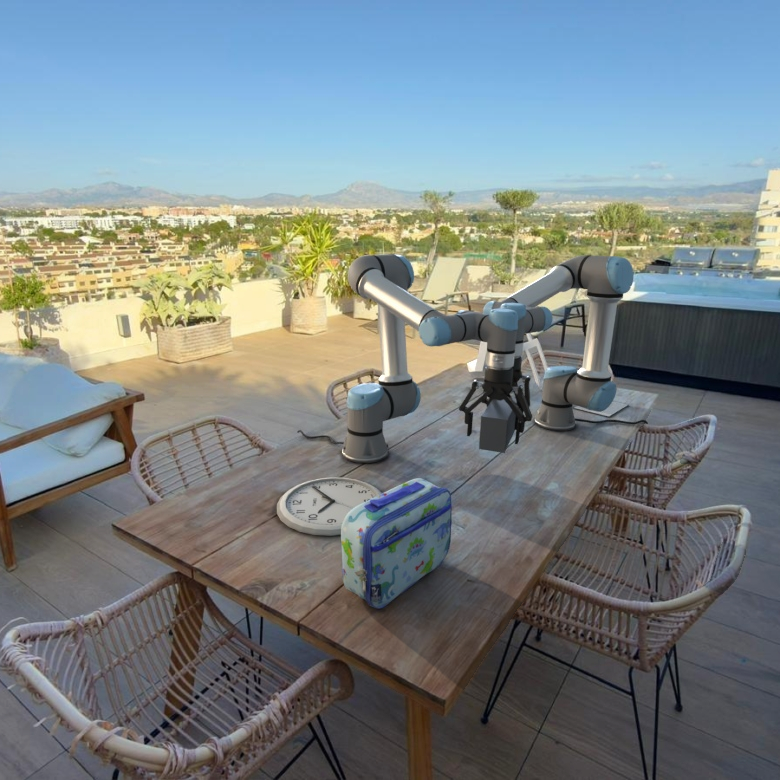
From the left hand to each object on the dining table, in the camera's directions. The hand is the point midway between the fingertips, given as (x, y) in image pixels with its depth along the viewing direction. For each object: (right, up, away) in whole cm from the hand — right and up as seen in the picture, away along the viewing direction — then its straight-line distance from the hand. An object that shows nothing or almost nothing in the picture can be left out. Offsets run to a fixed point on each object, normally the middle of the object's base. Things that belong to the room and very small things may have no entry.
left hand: (492, 438), depth 149 cm
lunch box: (-28, -27, -36) cm, 53 cm away
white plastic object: (+28, +17, +108) cm, 113 cm away
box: (+3, 0, +8) cm, 9 cm away
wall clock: (-45, -18, -6) cm, 49 cm away
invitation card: (+62, +7, +77) cm, 99 cm away
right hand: (+6, +2, +15) cm, 16 cm away
